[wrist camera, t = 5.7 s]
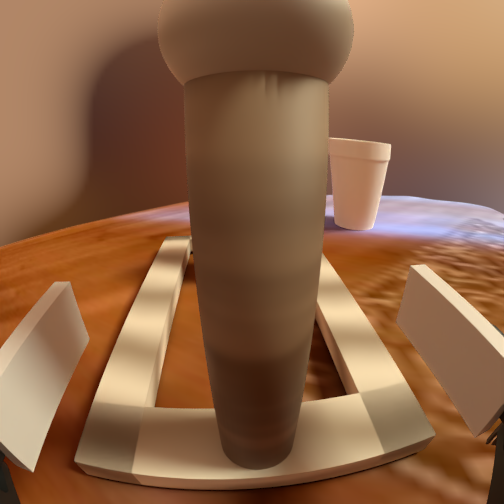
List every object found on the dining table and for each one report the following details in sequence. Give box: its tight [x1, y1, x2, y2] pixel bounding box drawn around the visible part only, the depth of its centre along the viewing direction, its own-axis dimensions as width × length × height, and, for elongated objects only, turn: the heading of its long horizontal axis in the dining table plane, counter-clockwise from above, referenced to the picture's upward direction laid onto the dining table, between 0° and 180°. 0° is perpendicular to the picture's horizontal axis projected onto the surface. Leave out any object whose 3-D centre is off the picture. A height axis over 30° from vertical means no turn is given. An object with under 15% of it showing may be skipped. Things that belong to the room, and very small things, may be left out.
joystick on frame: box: [74, 0, 436, 490], centre depth 19 cm, size 28×17×18 cm, turn 5°
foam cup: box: [328, 138, 391, 230], centre depth 42 cm, size 10×9×13 cm
